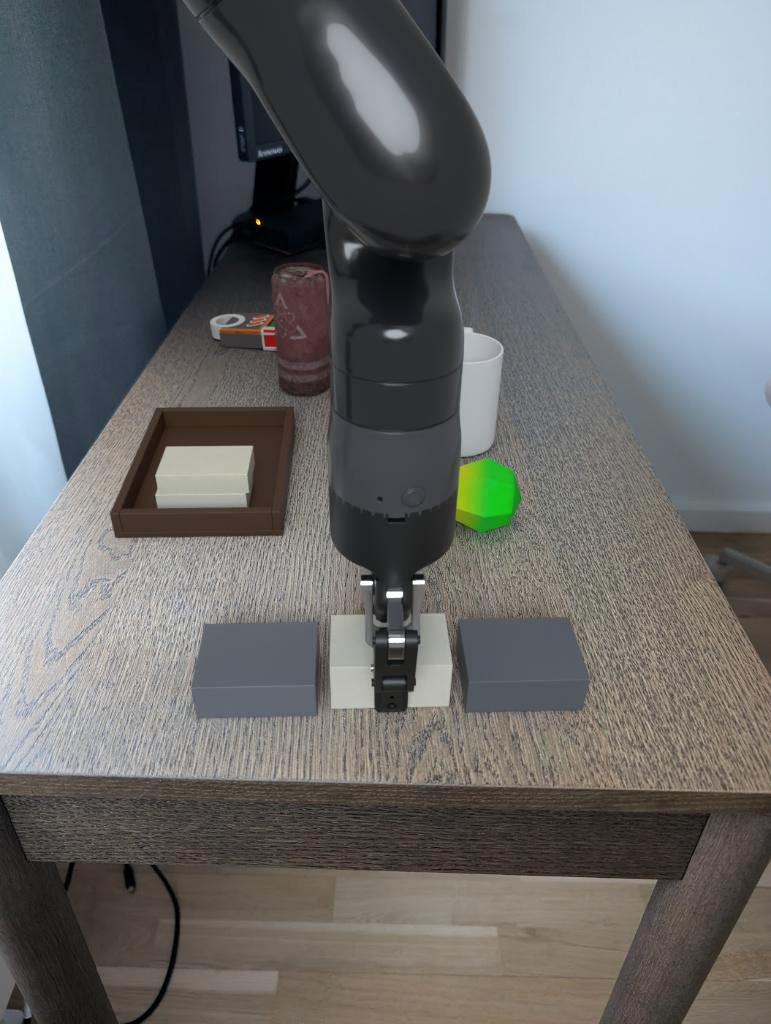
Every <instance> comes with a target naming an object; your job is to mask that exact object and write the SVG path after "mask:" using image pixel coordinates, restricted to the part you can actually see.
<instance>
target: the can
mask: <svg viewBox="0 0 771 1024" xmlns="http://www.w3.org/2000/svg"><path fill="white" fill-rule="evenodd" d="M270 279H271V280H270V281H271V294H272V309H273V314H274V324H275V337H276V351H275V352H276V364H277V375H278V384H279V386H280V387H281V389H282V390H283V391H284V392H285V393H287V394H289V395H292V396H297V397H311V396H316V395H319V394H322V393H323V392H325V391H326V390H327V389H328V387H330V371H329V333H330V323H329V304H330V293H331V289H330V278H329V274H327V272H326V271H325V269H324V268H323V266H321V265H319V264H316V263H311V262H288V263H284V264H281V265H278V266H276V267H275V268H274V269H273V274H272V276H271V278H270Z"/></svg>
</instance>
